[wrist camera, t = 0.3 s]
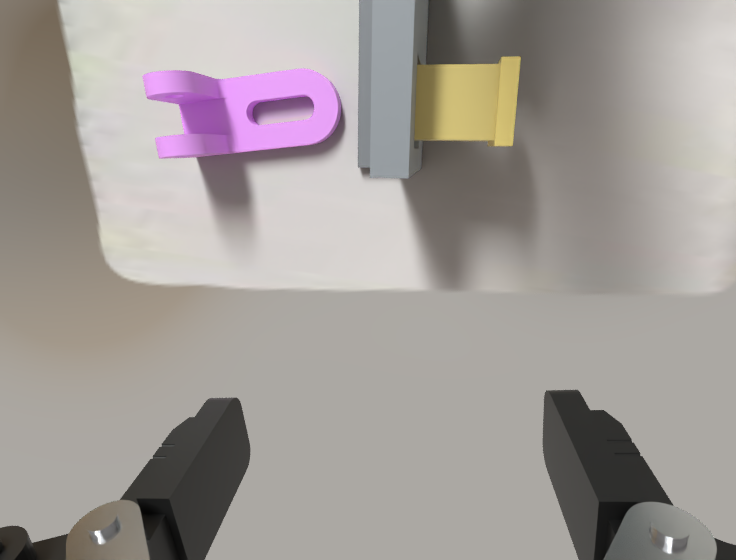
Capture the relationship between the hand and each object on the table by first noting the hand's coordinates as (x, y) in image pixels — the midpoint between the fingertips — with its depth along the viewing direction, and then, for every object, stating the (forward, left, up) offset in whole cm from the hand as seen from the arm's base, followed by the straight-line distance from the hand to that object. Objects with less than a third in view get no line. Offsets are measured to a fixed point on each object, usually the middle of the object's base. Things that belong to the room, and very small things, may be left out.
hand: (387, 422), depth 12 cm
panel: (-14, -3, -28) cm, 31 cm away
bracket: (-10, -14, -28) cm, 33 cm away
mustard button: (-9, +2, -22) cm, 24 cm away
